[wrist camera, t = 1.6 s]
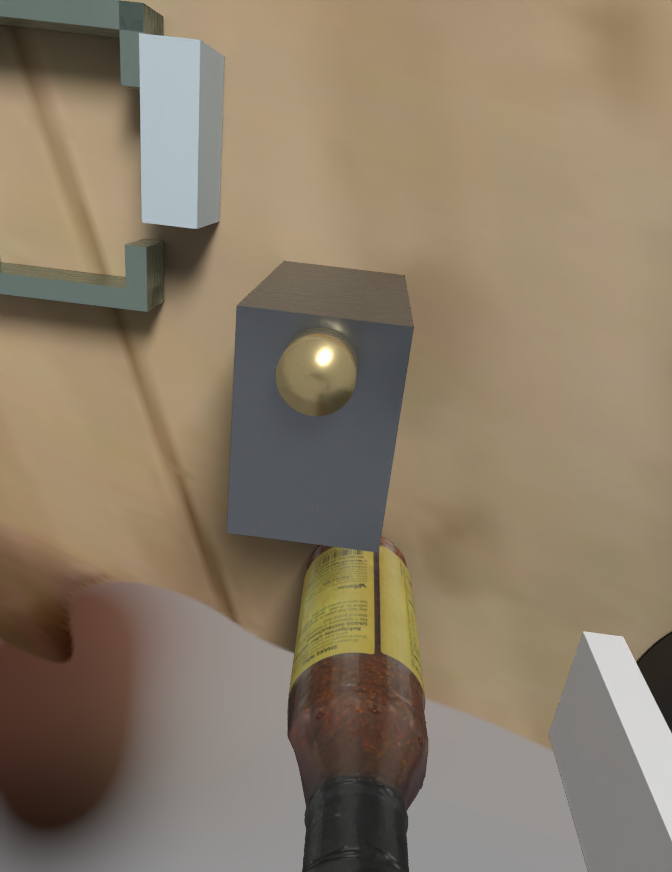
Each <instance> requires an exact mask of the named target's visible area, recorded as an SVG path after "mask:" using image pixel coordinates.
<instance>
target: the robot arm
mask: <svg viewBox="0 0 672 872" xmlns="http://www.w3.org/2000/svg"><path fill="white" fill-rule="evenodd" d="M549 738H550V741H551V745H552V748H553V752H554V755H555V759H556V762H557V765H558V769H559V772H560V776H561V779H562V783H563V786H564V790H565V793H566V797H567V800H568V803H569V807H570V811H571V814H572V817H573V821H574V824H575V828H576V831H577V835H578V838H579V842H580V845H581V849H582V852H583V856H584V859H585V863H586V866H587V870H588V872H672V633H671V634H670V635H668V636H667V637H665V638H664V639H663V640H661V641H660V642H659V643H658V644H656V645H655V646H654V647H653V648H652V649H651V650H650V651H649V652H648V653H647V654H646V655H645V656H644V657H643V658H642V659H641V661H640V662H639V663H638V664H637V663H636V661H635V659H634V657H633V655H632V653H631V651H630V650H629V648H628V646H627V644H626V642H625V640H624V638H623V637H622V636H614V635H606V634H599V633H591V632H583V633H582V636H581V639H580V642H579V645H578V648H577V651H576V654H575V657H574V660H573V663H572V666H571V669H570V672H569V675H568V678H567V681H566V684H565V687H564V690H563V693H562V696H561V699H560V702H559V705H558V708H557V711H556V714H555V717H554V720H553V722H552V725H551V728H550V731H549Z"/></svg>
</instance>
